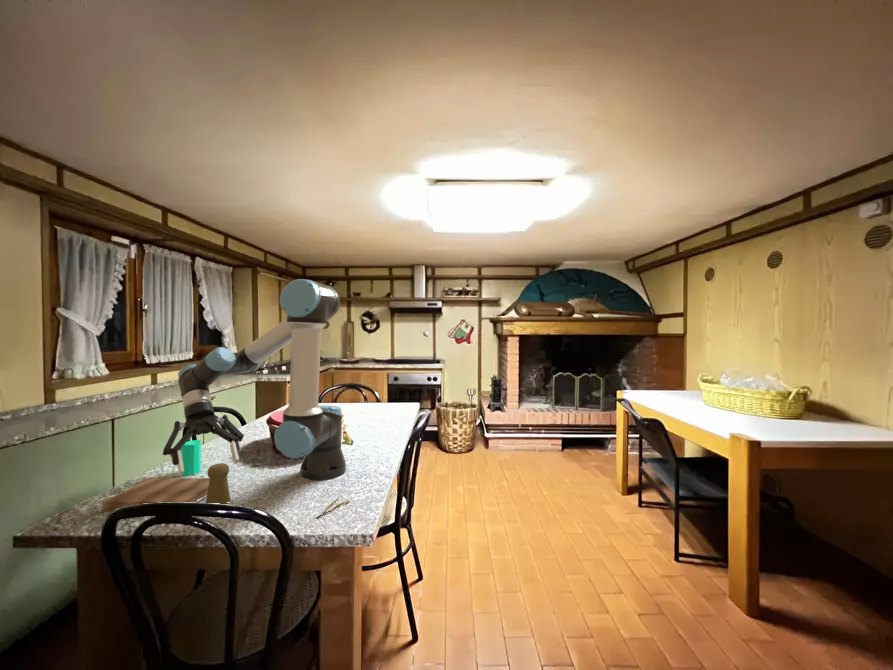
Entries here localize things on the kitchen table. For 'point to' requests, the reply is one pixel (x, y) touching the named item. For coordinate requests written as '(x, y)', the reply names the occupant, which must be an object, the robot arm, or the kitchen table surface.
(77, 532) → the kitchen table surface
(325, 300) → the robot arm
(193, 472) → the candle
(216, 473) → the cork
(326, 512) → the tongs
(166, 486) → the walnut board
